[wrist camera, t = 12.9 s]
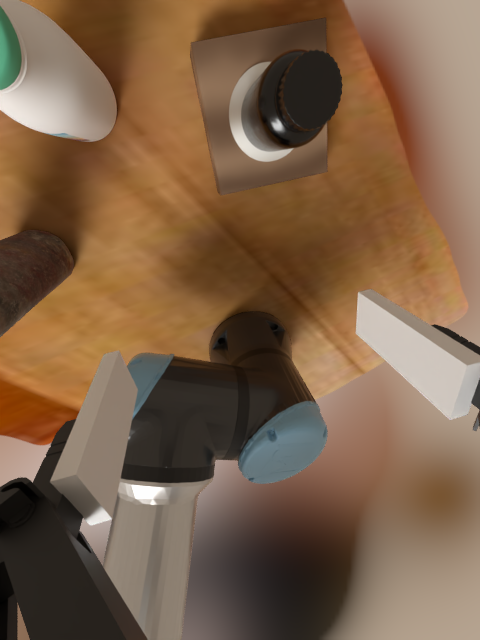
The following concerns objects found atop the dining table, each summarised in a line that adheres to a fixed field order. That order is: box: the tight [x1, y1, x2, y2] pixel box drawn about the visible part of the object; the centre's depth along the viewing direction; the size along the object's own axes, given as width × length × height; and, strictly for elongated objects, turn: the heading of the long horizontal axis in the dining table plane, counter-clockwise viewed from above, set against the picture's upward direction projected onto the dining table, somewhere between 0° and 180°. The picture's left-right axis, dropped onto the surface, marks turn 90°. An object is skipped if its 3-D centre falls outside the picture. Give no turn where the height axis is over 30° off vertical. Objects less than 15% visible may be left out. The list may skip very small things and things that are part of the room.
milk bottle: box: [0, 0, 117, 142], centre depth 22 cm, size 8×8×20 cm
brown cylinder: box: [0, 230, 74, 337], centre depth 29 cm, size 8×7×20 cm
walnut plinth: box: [190, 18, 327, 195], centre depth 32 cm, size 14×14×4 cm
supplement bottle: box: [241, 49, 342, 152], centre depth 26 cm, size 7×7×12 cm
